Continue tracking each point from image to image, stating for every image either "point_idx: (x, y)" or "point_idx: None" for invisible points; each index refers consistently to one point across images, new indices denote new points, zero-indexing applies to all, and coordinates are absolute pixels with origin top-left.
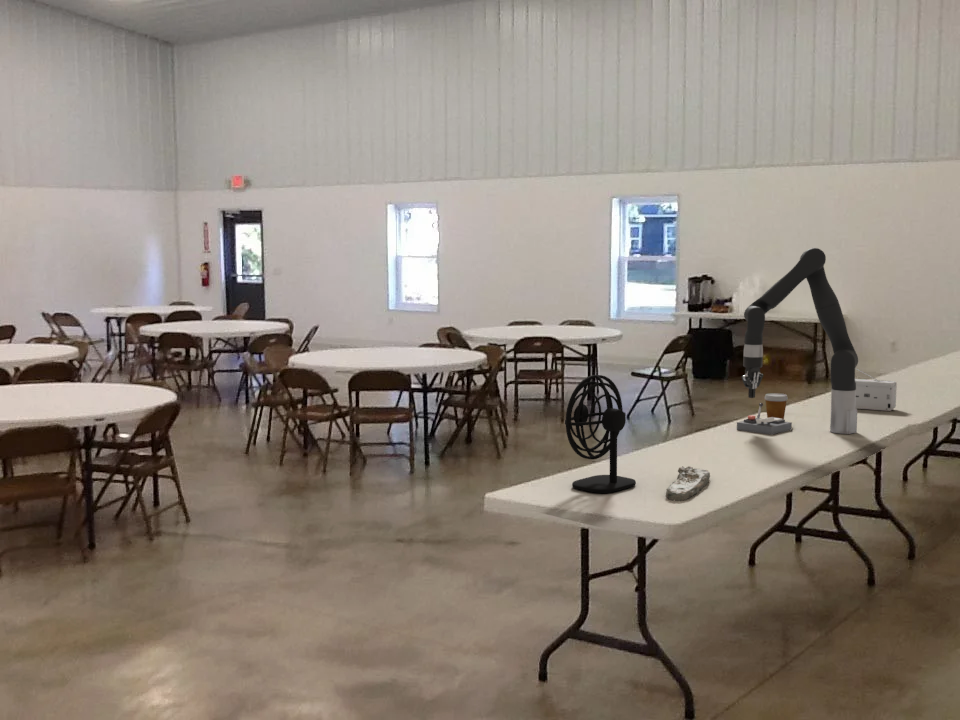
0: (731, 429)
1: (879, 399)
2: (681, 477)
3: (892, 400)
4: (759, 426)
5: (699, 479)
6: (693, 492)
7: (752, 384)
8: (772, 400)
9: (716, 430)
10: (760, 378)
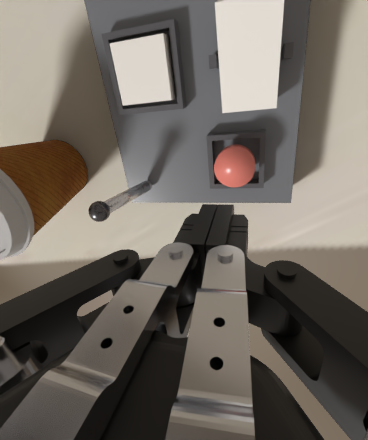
0: (297, 205)
1: None
2: None
3: None
4: (304, 58)
5: None
6: None
7: (244, 289)
8: (20, 195)
9: (363, 234)
10: (27, 316)
